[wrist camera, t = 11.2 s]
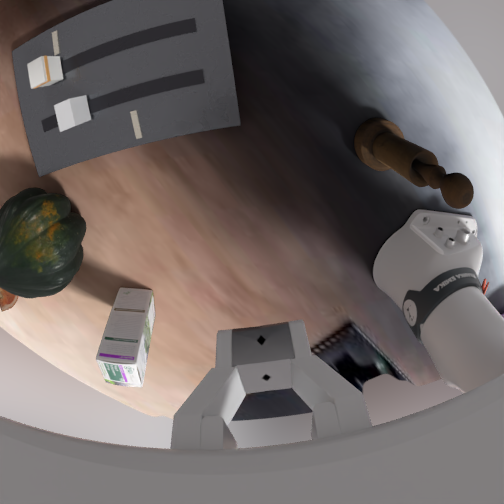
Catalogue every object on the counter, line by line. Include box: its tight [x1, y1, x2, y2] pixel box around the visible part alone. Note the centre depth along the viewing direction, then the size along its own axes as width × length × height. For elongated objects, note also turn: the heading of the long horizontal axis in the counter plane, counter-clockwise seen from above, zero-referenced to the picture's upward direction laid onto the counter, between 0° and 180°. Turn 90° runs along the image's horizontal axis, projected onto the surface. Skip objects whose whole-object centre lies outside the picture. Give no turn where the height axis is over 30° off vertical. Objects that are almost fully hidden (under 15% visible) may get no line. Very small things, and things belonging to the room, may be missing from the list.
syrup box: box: [96, 287, 155, 387], centre depth 39 cm, size 6×6×14 cm
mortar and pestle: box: [354, 118, 474, 209], centre depth 26 cm, size 7×6×18 cm
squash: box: [0, 188, 86, 298], centre depth 31 cm, size 14×15×15 cm
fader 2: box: [54, 95, 91, 132], centre depth 24 cm, size 2×3×4 cm, turn 7°
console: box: [12, 0, 241, 177], centre depth 26 cm, size 26×18×3 cm
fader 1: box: [27, 56, 63, 89], centre depth 21 cm, size 2×3×4 cm
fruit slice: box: [0, 288, 18, 312], centre depth 39 cm, size 8×7×5 cm
